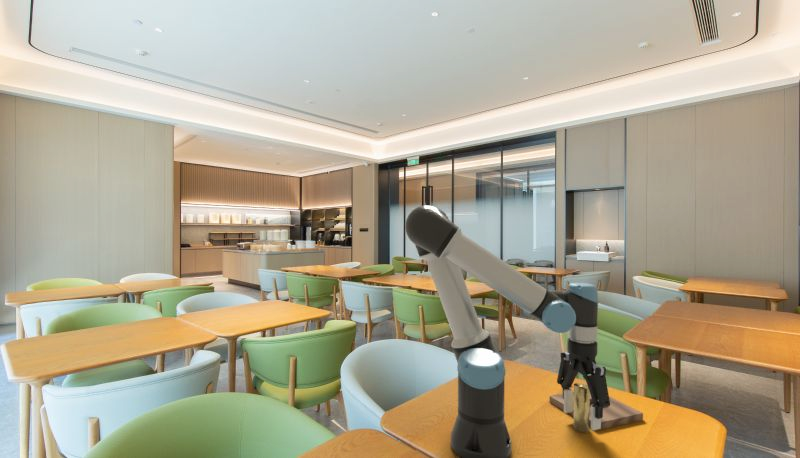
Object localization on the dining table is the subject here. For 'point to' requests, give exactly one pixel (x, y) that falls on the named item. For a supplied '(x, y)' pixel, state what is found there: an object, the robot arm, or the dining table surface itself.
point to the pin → (581, 407)
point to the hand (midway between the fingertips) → (581, 419)
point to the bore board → (606, 412)
